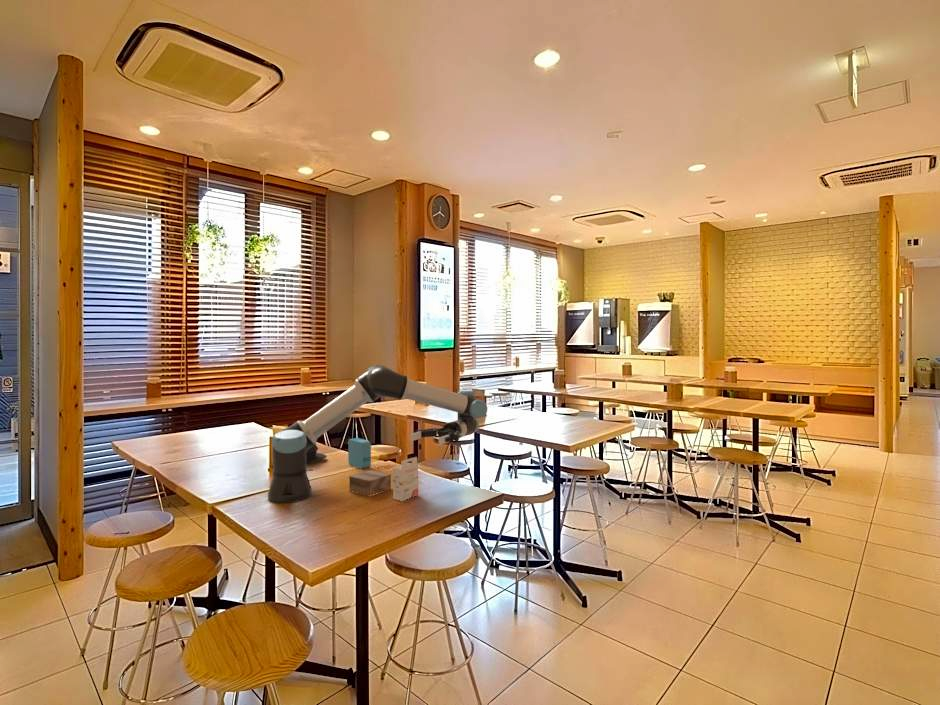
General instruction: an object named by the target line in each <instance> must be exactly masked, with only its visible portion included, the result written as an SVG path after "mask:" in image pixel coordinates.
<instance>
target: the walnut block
mask: <svg viewBox="0 0 940 705" xmlns="http://www.w3.org/2000/svg"><path fill="white" fill-rule="evenodd" d="M348 479H349V492H351V491H354V492H353V493H355V492H358V493H361V494H360V495H362V494H365V495H364V496H366V495H369V496H368V497H371V496H370V495H373V494H376V493H379V492H381V491H384V492H386V491H385V490H387V491H389V490H388V489H390V490H391V489H392V474H390V473H387V472H383V471H377V470H373V469H370V470H366V471H362V472H359V473H358V472H357V473H355V474H352V475H349V478H348ZM358 493H357V494H358ZM381 493H382V492H381ZM379 494H380V493H379ZM376 495H377V494H376ZM373 496H374V495H373Z"/></svg>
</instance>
